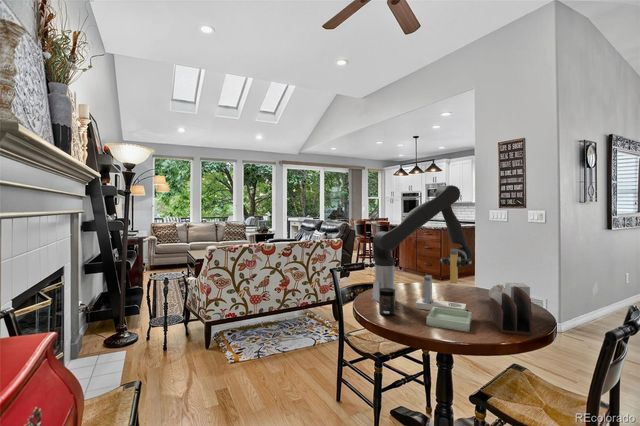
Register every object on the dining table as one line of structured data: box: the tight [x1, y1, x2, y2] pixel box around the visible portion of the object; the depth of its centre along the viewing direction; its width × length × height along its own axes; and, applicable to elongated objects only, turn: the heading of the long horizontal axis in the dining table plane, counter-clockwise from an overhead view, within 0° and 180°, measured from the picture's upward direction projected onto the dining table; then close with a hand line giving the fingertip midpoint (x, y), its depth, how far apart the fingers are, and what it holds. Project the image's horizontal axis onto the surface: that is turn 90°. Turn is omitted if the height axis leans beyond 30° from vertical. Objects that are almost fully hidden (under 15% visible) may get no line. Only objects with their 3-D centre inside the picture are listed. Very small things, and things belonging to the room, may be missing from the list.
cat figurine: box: [488, 283, 505, 307], centre depth 156 cm, size 10×8×15 cm
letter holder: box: [488, 286, 533, 336], centre depth 129 cm, size 10×20×14 cm, turn 165°
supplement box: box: [504, 282, 531, 301], centre depth 141 cm, size 7×7×13 cm
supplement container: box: [378, 288, 396, 317], centre depth 142 cm, size 7×7×10 cm
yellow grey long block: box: [449, 248, 459, 284], centre depth 145 cm, size 2×5×14 cm, turn 152°
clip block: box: [415, 297, 467, 311], centre depth 149 cm, size 20×8×3 cm, turn 62°
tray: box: [426, 307, 473, 333], centre depth 132 cm, size 15×15×3 cm
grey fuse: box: [423, 274, 433, 304], centre depth 151 cm, size 2×5×14 cm, turn 152°
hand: (453, 264), depth 143 cm, fingers closed on yellow grey long block, 2 cm apart
